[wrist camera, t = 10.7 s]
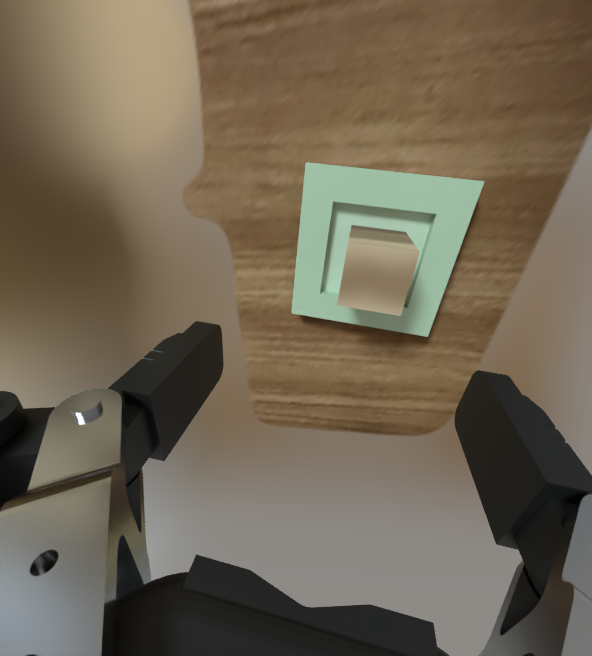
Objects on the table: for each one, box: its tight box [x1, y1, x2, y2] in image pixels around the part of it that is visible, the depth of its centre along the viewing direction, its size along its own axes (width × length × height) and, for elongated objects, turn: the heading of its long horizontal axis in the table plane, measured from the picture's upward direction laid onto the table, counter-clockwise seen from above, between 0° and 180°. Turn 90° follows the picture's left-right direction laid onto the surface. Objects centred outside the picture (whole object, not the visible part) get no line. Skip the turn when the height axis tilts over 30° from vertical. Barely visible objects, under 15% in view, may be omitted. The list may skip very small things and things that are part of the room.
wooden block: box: [337, 225, 420, 316], centre depth 23 cm, size 4×4×7 cm
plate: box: [291, 162, 484, 337], centre depth 26 cm, size 13×13×2 cm
